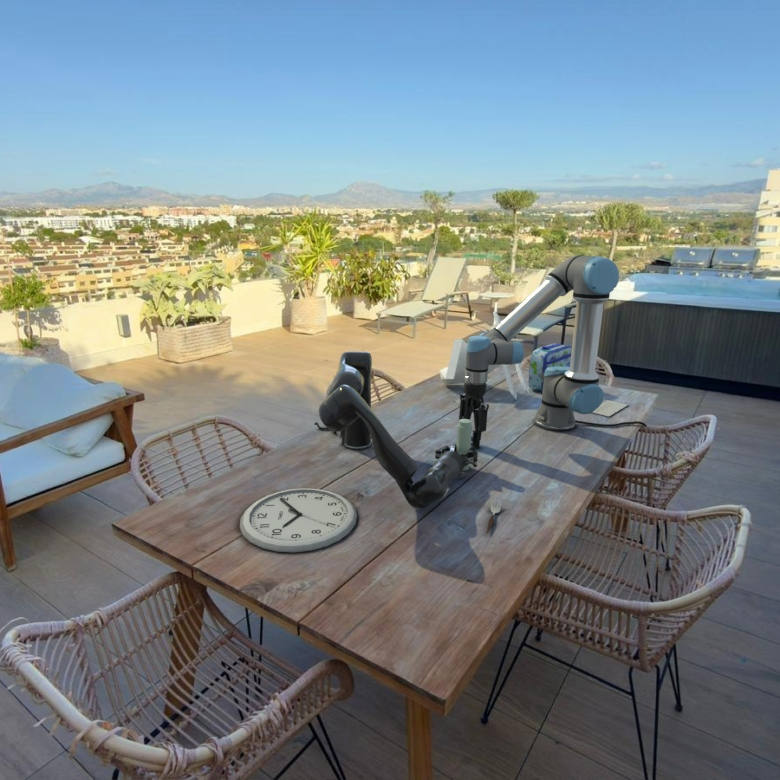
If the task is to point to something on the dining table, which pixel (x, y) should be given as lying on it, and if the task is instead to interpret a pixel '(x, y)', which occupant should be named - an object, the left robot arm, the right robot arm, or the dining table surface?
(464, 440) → the bottle
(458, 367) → the white plastic object
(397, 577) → the dining table surface
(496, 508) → the fork
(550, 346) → the lunch box
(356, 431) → the left robot arm
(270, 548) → the wall clock
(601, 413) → the invitation card
